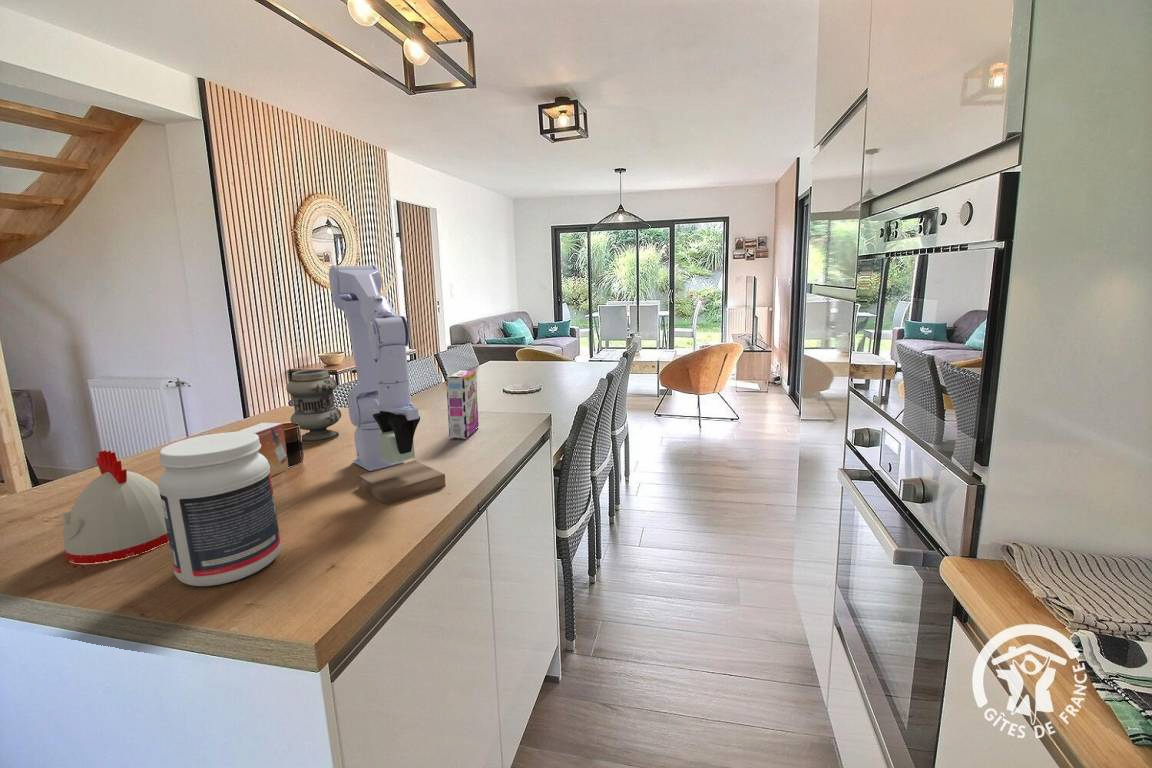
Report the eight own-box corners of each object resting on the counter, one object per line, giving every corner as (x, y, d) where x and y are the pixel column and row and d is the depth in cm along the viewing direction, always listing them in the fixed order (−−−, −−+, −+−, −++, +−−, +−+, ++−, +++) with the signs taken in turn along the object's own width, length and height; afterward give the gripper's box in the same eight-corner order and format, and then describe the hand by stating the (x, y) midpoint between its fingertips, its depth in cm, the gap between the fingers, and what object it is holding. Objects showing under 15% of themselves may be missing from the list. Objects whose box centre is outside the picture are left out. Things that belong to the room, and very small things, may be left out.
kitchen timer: (158, 517, 92) (143, 435, 90) (197, 533, 86) (182, 445, 83) (52, 552, 81) (30, 459, 78) (87, 574, 74) (65, 473, 71)
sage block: (382, 458, 102) (379, 433, 101) (404, 452, 105) (401, 428, 104) (392, 463, 99) (390, 437, 98) (415, 457, 102) (412, 432, 101)
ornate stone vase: (300, 433, 144) (291, 368, 140) (347, 429, 147) (340, 366, 143) (287, 446, 132) (278, 376, 129) (338, 442, 135) (330, 373, 132)
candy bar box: (468, 440, 134) (463, 376, 131) (449, 440, 134) (444, 376, 131) (480, 428, 145) (476, 369, 142) (462, 428, 145) (458, 369, 142)
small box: (261, 482, 108) (254, 433, 106) (238, 481, 109) (230, 432, 107) (289, 469, 116) (283, 422, 114) (268, 467, 117) (261, 422, 115)
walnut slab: (360, 490, 104) (358, 475, 103) (416, 473, 112) (415, 460, 111) (387, 507, 95) (385, 491, 95) (445, 488, 103) (444, 474, 103)
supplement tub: (301, 546, 80) (286, 430, 77) (235, 595, 68) (213, 459, 64) (228, 541, 82) (209, 428, 79) (150, 588, 70) (124, 456, 67)
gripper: (356, 379, 102) (363, 447, 104) (389, 388, 91) (396, 463, 94) (391, 374, 107) (397, 439, 109) (426, 383, 96) (432, 453, 99)
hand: (399, 449), depth 102 cm, fingers closed on sage block, 4 cm apart
